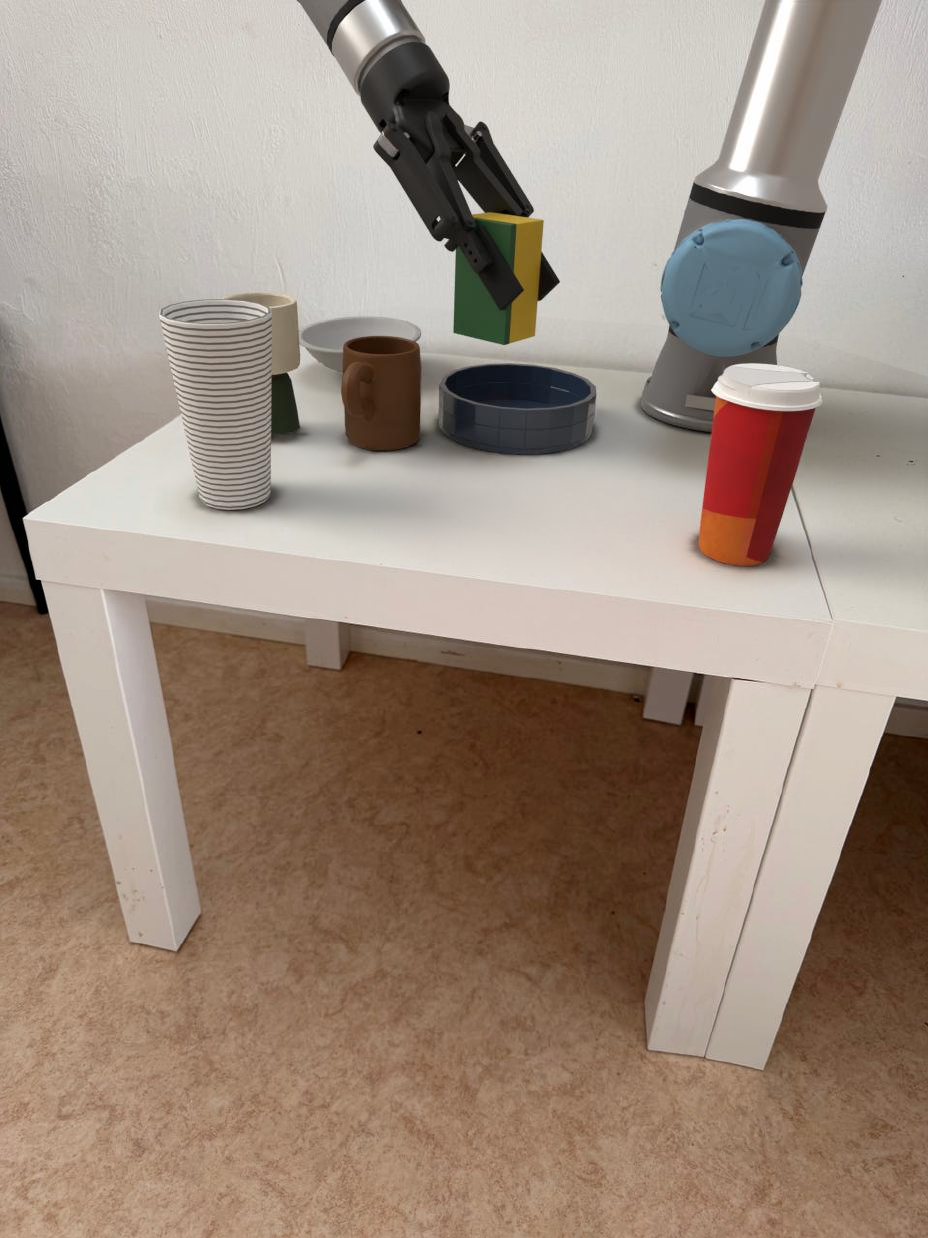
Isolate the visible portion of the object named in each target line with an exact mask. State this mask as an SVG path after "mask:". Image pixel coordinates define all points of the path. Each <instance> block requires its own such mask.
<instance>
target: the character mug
mask: <svg viewBox="0 0 928 1238" xmlns="http://www.w3.org/2000/svg"><path fill="white" fill-rule="evenodd" d="M221 299H232V300H245V301H251V302H256V303H261V304H263V305H265V306H267V307H269V308H270V309H271V312H272V366H271V436H280V435H282V436H284V435H289V434H293V433H296V432H297V431H298V430H299V429H300V428H301V425H300V418H299V411H298V406H297V401H296V396H295V391H294V387H293V380H292V378H291V376H290V374H289V372H292V371H295V370H297V369H298V368H299V367H300V365H301V348H300V347H301V345H300V344H299V330H300V329H299V315H298V314H299V313H298V302H297V299H296V298H295V297H293V296H291V295H288V294H282V293H277V292H276V293H275V292H243V293H242V292H241V293H235V294H234V293H233V294H230V295H225V296H223V297H222V298H221Z"/></svg>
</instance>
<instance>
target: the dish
mask: <svg viewBox="0 0 928 1238" xmlns="http://www.w3.org/2000/svg"><path fill="white" fill-rule="evenodd" d="M366 336H393V337H401V338H406V339H409V340H412V341H415V342H416V343H417V342H418V341H419V340H420V339H421V337H422V330H421V329H420V327H419V326H418V325H416V324H414V323H412V322H410V321H407V320H403V319H399V318H393V317H386V316H373V315H371V316H370V315H369V316H367V315H365V316H364V315H363V316H361V315H360V316H359V315H358V316H344V317H343V316H342V317H336V318H330V319H325V320H321V321H320V320H319V321H317V322H313V323H310V324H308V325H306V326H304V327H302V328H300V329H299V345H300V347H304V348H305V350H306V351H307V352H308V353H309V354H310V355H311V356H312V357H313V358H314V359H315V360H316V361H317V362H318V363H320V364H321V365H323V366H325V367H327V368H328V369H331V370H332V371H333V370H334V371H337V372H341V373H343V369H342V362H343V346H344V343H345V342H347V341H349V340H351V339H354V338H359V337H366Z"/></svg>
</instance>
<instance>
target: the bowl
mask: <svg viewBox="0 0 928 1238" xmlns="http://www.w3.org/2000/svg"><path fill="white" fill-rule="evenodd" d="M597 395H598V394H597V386H596V385H595V384H594V383H593V382H592V381H590V380H589V379H588V378H586V377H584V376H581V375H579V374H576V373H575V372H572V371H567V370H564V369H560V368H556V367H551V366H544V365H539V364H538V365H537V364H532V363H531V364H530V363H529V364H527V363H516V362H515V363H514V362H513V363H510V362H506V363H505V362H504V363H503V362H502V363H500V362H499V363H483V364H482V363H481V364H476V365H467V366H463V367H459V368H457V369H453V370H451V371H449V372H447V373H446V374H444V375H442V376H441V377H440V381H439V382H438V409H437V410H438V411H437V413H438V414H437V418H438V419H437V420H438V426H439V429H440V432H442V433H443V434H444V436H446V437H447V438H449V439H451V440H452V441H454V442H456V443H459V444H461V445H464V446H467V447H470V448H473V449H477V450H480V451H481V450H482V451H487V452H492V453H499V454H509V455H542V454H543V455H544V454H552V453H553V454H554V453H560V452H563V451H569V450H571V449H574V448H577V447H579V446H581V445H583V444H585V443H586V442H587V441H588V440H589V439H590V437H591V436H592V432H593V429H594V420H595V410H596V402H597Z"/></svg>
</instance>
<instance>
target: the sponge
mask: <svg viewBox="0 0 928 1238" xmlns="http://www.w3.org/2000/svg"><path fill="white" fill-rule="evenodd" d="M472 216H473V218H474V221H475V223H476V226H475V227H474V228H473V229H474V230H475V231H476V229H477V228H478V227H479V226H485V227H486V229H487V230H488V232H489V234H490V235H491V237H492V238H493V240H494V242H495V243H496V245H497V247H498V248H499V250H500V252H501V253H502V255H503V256H504V258H505V260H506V261H507V263H508V265H509V266H510V268H511V269H512V271H513V273H514V274H515V276H516V278H517V279H518V281H519V282H520V284H521V286H522V287H523V289H524V291H523V292H522V293H521V294H520V295H519V296H518V297H517V298H516V299H515V300H514V301H513V302H512V303H511V304H510V305H509V306H508V307H507V308H506V309H505V310H501V311H500V310H499V308H498V307H497V305H496V303H495V302H494V300H493V299H492V297H491V295H490V294H489V292H488V290H487V289H486V287H485V286H484V284H483V282H482V281H481V279H480V277H479V276H478V274H477V273H476V272H475V271H474V270H473V269H472V267H471V266H470V263H469V262H468V261H467V259H466V257H465V256H464V254H463V253H462V251H461V249H460V248H459V246H458V247H457V248H456V250H455V259H454V260H455V261H454V266H455V267H454V293H453V294H454V295H453V298H454V299H453V304H454V305H453V326H452V327H453V328H452V329H453V330H452V331H453V334H456V335H460V336H464V337H467V338H472V339H475V340H481V341H485V342H489V343H493V344H497V345H502V346H506V345H509V344H513V343H516V342H519V341H520V342H521V341H523V340H527V339H530V338H534V337H536V328H537V315H538V314H537V313H538V302H539V301H538V290H539V276H540V263H541V251H542V248H543V235H544V224H545V223H544V221H545V220H544V219H541V218H534V217H529V218H527V217H520V216H513V215H506V214H499V213H492V212H488V213H484V212H480V213H474V214H473V213H472Z"/></svg>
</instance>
